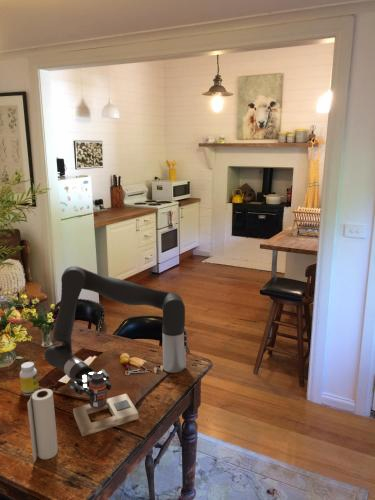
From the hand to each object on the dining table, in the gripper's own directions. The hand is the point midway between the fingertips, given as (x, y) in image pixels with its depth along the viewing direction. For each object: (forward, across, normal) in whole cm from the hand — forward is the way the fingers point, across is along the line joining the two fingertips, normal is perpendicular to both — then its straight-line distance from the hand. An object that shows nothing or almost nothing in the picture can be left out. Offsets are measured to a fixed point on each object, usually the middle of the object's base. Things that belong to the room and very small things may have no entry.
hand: (101, 391), depth 142 cm
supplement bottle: (-2, 0, +7) cm, 7 cm away
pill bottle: (-35, -12, +13) cm, 39 cm away
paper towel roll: (+1, -21, +12) cm, 25 cm away
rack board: (-2, +2, +12) cm, 12 cm away
